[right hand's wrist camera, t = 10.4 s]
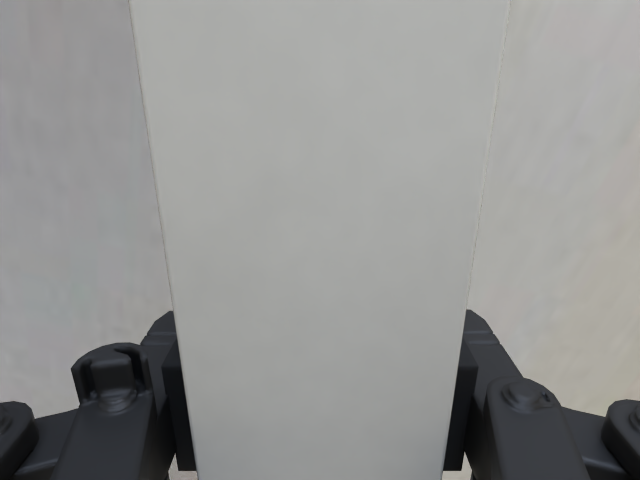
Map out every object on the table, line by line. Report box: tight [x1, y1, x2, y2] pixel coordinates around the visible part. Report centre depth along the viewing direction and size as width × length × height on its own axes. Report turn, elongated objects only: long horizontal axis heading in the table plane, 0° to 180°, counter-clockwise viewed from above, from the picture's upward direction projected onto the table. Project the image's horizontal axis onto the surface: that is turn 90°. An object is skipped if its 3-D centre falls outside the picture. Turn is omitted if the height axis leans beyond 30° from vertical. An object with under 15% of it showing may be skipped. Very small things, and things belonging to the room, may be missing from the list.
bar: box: [128, 0, 511, 480], centre depth 9 cm, size 22×5×8 cm, turn 0°
